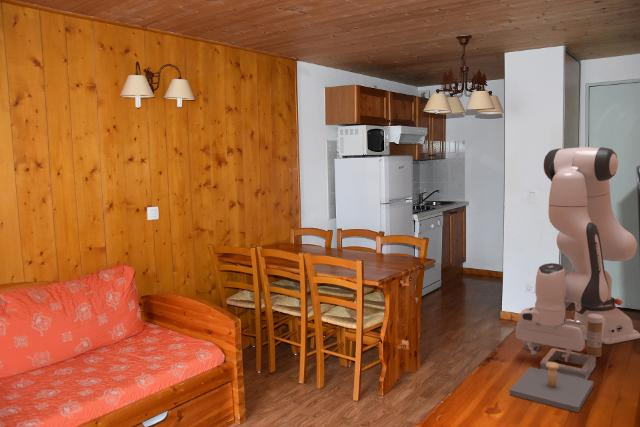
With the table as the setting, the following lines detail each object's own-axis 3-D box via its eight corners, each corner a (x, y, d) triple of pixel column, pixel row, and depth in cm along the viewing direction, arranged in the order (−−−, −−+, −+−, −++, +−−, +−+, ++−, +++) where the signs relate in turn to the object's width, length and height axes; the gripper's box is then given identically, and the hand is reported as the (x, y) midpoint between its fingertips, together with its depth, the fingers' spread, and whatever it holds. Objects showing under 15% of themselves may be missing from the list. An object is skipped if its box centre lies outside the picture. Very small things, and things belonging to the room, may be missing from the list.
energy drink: (542, 350, 181) (542, 316, 179) (525, 350, 182) (525, 316, 180) (539, 344, 186) (539, 311, 184) (522, 344, 187) (523, 311, 186)
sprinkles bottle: (595, 351, 179) (596, 312, 177) (605, 356, 174) (606, 316, 172) (583, 352, 178) (584, 313, 176) (592, 358, 173) (593, 318, 171)
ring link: (552, 356, 176) (552, 347, 176) (595, 365, 168) (595, 356, 168) (540, 371, 166) (540, 361, 166) (585, 381, 158) (586, 371, 158)
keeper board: (529, 371, 166) (530, 347, 165) (593, 386, 155) (594, 360, 154) (509, 394, 152) (509, 368, 151) (578, 412, 141) (578, 384, 140)
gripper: (588, 318, 164) (587, 361, 166) (520, 307, 177) (520, 348, 179) (583, 324, 159) (582, 369, 161) (514, 313, 172) (513, 354, 174)
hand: (549, 357), depth 170 cm, fingers open, 8 cm apart
